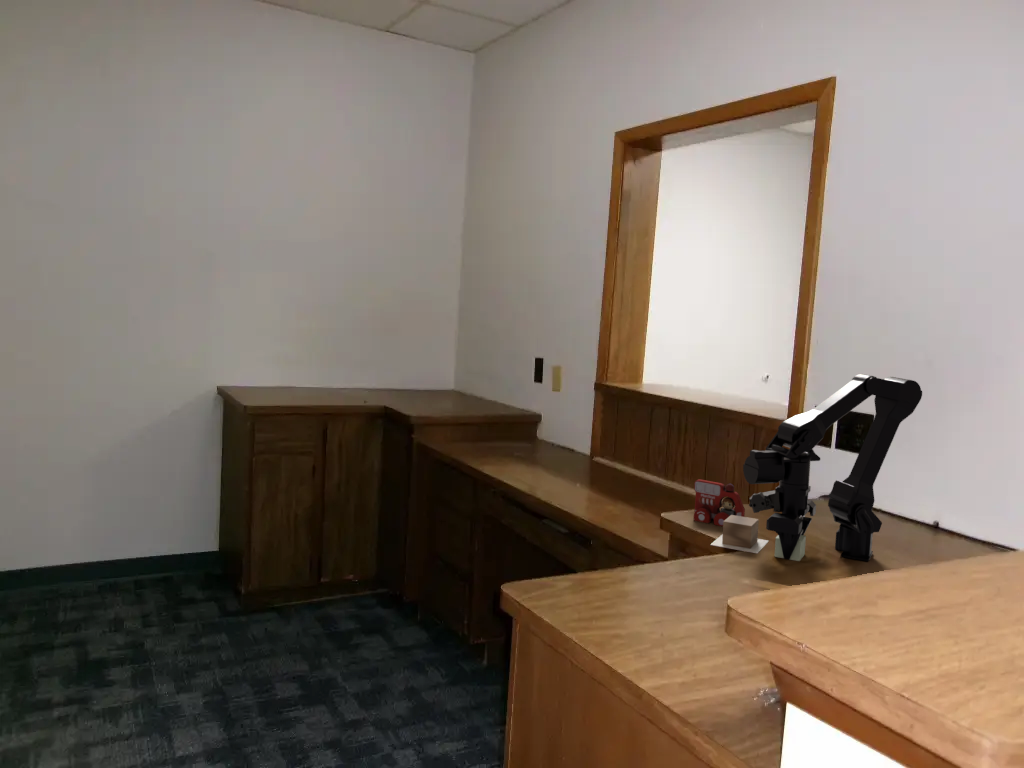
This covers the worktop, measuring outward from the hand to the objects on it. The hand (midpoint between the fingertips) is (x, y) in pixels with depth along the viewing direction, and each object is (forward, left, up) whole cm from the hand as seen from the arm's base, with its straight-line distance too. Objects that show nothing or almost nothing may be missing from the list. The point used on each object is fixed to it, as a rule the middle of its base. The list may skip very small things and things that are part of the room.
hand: (789, 555), depth 166 cm
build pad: (+11, -2, -1) cm, 11 cm away
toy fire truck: (+20, -16, -1) cm, 26 cm away
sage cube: (0, 0, -1) cm, 1 cm away
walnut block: (+11, -2, 0) cm, 11 cm away
